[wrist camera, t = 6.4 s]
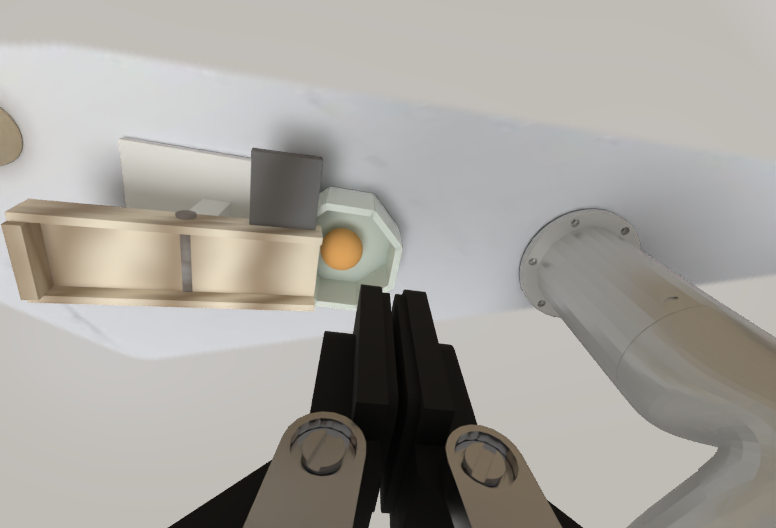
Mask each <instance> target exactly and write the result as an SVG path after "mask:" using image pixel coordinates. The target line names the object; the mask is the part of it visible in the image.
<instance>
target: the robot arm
mask: <svg viewBox="0 0 776 528" xmlns="http://www.w3.org/2000/svg"><path fill="white" fill-rule="evenodd" d="M572 220H573V221H572ZM520 283H521V288H522V290H523V292H524V294H525V296H526V297H527V299H528V300H529V301H530V303H531V304H532V305H533V306H534V307H535V308H536V309H538V310H539V311H541V312H543V313H545V314H547V315H550V316H553V317H560V318H562V320H563V321H564V322H565V323H566V325H567V326H568V327H569V328H570V330H571V331H572V332H573V333H574V335H575V336H576V337H577V338H578V340H579V341H580V342H581V343H582V345H583V346H584V347H585V348H586V350H587V351H588V352H589V354H590V355H591V356H592V357H593V359H594V360H595V361H596V362H597V363H598V365H599V366H600V367H601V369H602V370H603V371H604V372H605V374H606V375H607V376H608V377H609V379H610V380H611V381H612V382H613V383H614V385H615V386H616V387H617V389H618V390H619V391H620V392H621V394H622V395H623V396H624V397H625V398H626V400H627V401H628V402H629V403H630V404H631V406H632V407H633V408H634V409H635V410H636V411H637V412H638V413H639V414H640V415H641V416H642V417H643V418H644V419H646V420H647V421H648V422H650V423H651V424H653V425H654V426H656V427H658V428H660V429H661V430H663V431H665V432H668V433H670V434H673V435H675V436H678V437H681V438H684V439H687V440H691V441H694V442H698V443H702V444H707V445H711V446H715V447H718V450H717V452H716V453H715V455H714V456H713V457H712V458H711V459H710V460H708V461H707V462H706V463H705V464H704V465H703V466H701V467H700V468H699V469H698V471H697V472H696V473H694V474H693V475H692V476H690V477H689V478H688V479H687V480H685V481H684V482H683V483H682V484H680V485H679V486H677V487H676V488H675V489H673V490H672V491H671V492H669V493H668V494H667V495H666V496H664V497H663V498H662V499H660V500H659V501H658V502H656V503H655V504H654V505H652V506H651V507H650V508H648V509H647V510H646V511H645V512H644V513H643V514H642V515H640V516H639V517H638V518H637V519H636V520H634V521H633V522H632V523H631V524H630V525H629V526H628V527H627V528H776V338H775V337H774V336H772V335H771V334H769V333H767V332H766V331H764V330H763V329H761V328H759V327H758V326H756V325H755V324H753V323H752V322H750V321H749V320H747V319H745V318H744V317H742V316H741V315H739V314H738V313H736V312H734V311H733V310H731V309H730V308H728V307H727V306H725V305H723V304H722V303H720V302H719V301H717V300H716V299H714V298H713V297H711V296H710V295H708V294H707V293H705V292H704V291H702V290H701V289H699V288H698V287H696V286H695V285H693V284H691V283H690V282H688V281H687V280H685V279H684V278H682V277H681V276H679V275H678V274H676V273H675V272H673V271H672V270H670V269H669V268H667V267H666V266H664V265H662V264H661V263H659V262H658V261H656V260H655V259H653V258H652V257H650V256H649V255H647V254H646V253H644V252H643V251H641V245H640V241H639V238H638V235H637V233H636V231H635V230H634V228H633V227H632V226H631V225H630V224H629V223H628V222H627V221H626V220H624V219H623V218H621V217H619V216H618V215H616V214H613V213H611V212H608V211H604V210H598V209H585V210H580V211H575V212H571V213H569V214H566V215H564V216H561V217H559V218H558V219H556V220H554V221H552V222H551V223H549V224H548V225H547V226H546V227H544V228H543V229H542V230H541V231H540V232H539V233H538V234H537V235H536V236H535V237H534V238H533V239H532V241H531V242H530V244H529V246H528V247H527V249H526V251H525V253H524V255H523V258H522V261H521V265H520ZM379 490H380V499H381V500H380V501H381V502H380V503H381V512H382V513H390V528H583V527H581V526H580V525H579V524H577V523H576V522H575V521H574V520H572V519H571V518H570V517H568V516H567V515H566V514H565V513H563V512H562V511H561V510H559V509H558V508H557V507H556V506H554V505H553V504H551V503H550V502H549V501H548V500H547V499H546V497H545V496H544V494H543V492H542V490H541V489H540V487H539V485H538V483H537V481H536V479H535V478H534V476H533V474H532V472H531V470H530V469H529V467H528V465H527V463H526V461H525V459H524V458H523V456H522V454H521V453H520V452H519V450H518V449H517V447H516V446H515V445H514V444H513V443H512V442H511V441H510V440H509V439H508V438H506V437H505V436H504V435H502V434H501V433H499V432H497V431H495V430H494V429H491V428H488V427H484V426H481V425H477V423H476V419H475V416H474V412H473V409H472V406H471V402H470V399H469V396H468V393H467V389H466V386H465V383H464V379H463V376H462V373H461V369H460V366H459V363H458V360H457V356H456V353H455V350H454V348H453V346H452V345H447V344H439V343H438V339H437V335H436V331H435V327H434V323H433V319H432V315H431V311H430V307H429V303H428V299H427V295H426V292H420V291H412V290H404V291H403V293H402V295H400V294H395V297H394V301H393V306H392V312H391V303H390V293H384V292H382V287H380V286H372V285H364V284H361V286H360V292H359V299H358V305H357V312H356V318H355V325H354V332H353V334H348V333H339V332H330V331H325V332H324V337H323V343H322V348H321V354H320V360H319V365H318V371H317V377H316V382H315V388H314V393H313V399H312V405H311V410H310V414H307V415H305V416H303V417H300V418H298V419H297V420H296V421H295V422H293V423H292V424H291V425H290V426H289V427H288V429H287V430H286V431H285V433H284V435H283V437H282V438H281V441H280V443H279V445H278V448H277V450H276V452H275V455H274V457H273V459H272V460H271V461H269V462H268V463H266V464H265V465H263V466H262V467H260V468H259V469H257V470H256V471H254V472H252V473H251V474H250V475H248V476H247V477H245V478H243V479H242V480H241V481H239V482H237V483H236V484H234V485H233V486H231V487H230V488H228V489H227V490H225V491H224V492H222V493H220V494H219V495H217V496H216V497H214V498H213V499H211V500H210V501H208V502H207V503H205V504H204V505H202V506H200V507H199V508H198V509H196V510H194V511H193V512H191V513H190V514H188V515H187V516H185V517H184V518H182V519H181V520H179V521H178V522H176V523H175V524H173V525H172V526H170V527H168V528H368V527H369V522H370V519H371V514H372V512H374V510H375V506H376V502H377V498H378V494H379Z"/></svg>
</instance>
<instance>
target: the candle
mask: <svg viewBox="0 0 776 528" xmlns="http://www.w3.org/2000/svg"><path fill="white" fill-rule="evenodd" d="M21 150H22V137H21V134H20V131H19V129H18V127H17V125H16V124H15V122H14V121H13V120H12V118H11V117H10V116H9V115H8V114H7V113H6V112H5V111H4V110H2V109H1V108H0V166H2V165H5V164H8V163H10V162H12V161H14V160H15V159H16V158H17V157H18V156H19V155H20V153H21Z"/></svg>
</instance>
